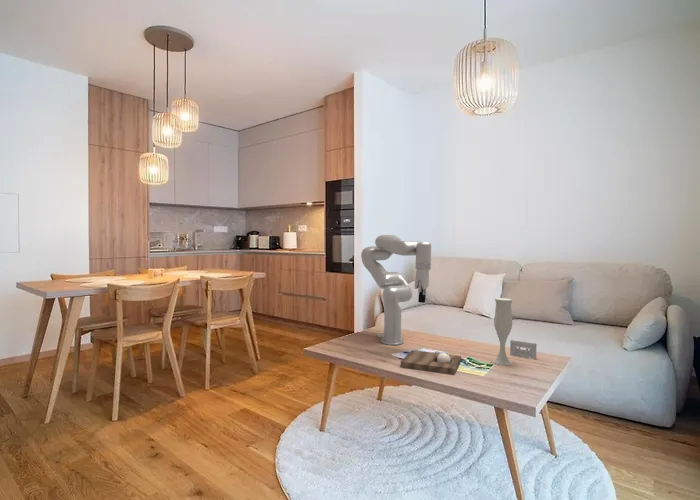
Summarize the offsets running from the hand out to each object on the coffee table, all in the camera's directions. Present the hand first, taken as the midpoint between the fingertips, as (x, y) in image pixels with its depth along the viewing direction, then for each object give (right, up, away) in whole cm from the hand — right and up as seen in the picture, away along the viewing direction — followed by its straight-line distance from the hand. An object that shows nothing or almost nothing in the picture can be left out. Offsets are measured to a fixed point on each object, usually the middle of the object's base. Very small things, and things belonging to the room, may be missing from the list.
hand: (421, 302), depth 201 cm
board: (+1, -26, -18) cm, 32 cm away
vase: (+36, -27, -14) cm, 47 cm away
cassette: (+49, -27, -6) cm, 56 cm away
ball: (+6, -24, -20) cm, 32 cm away
